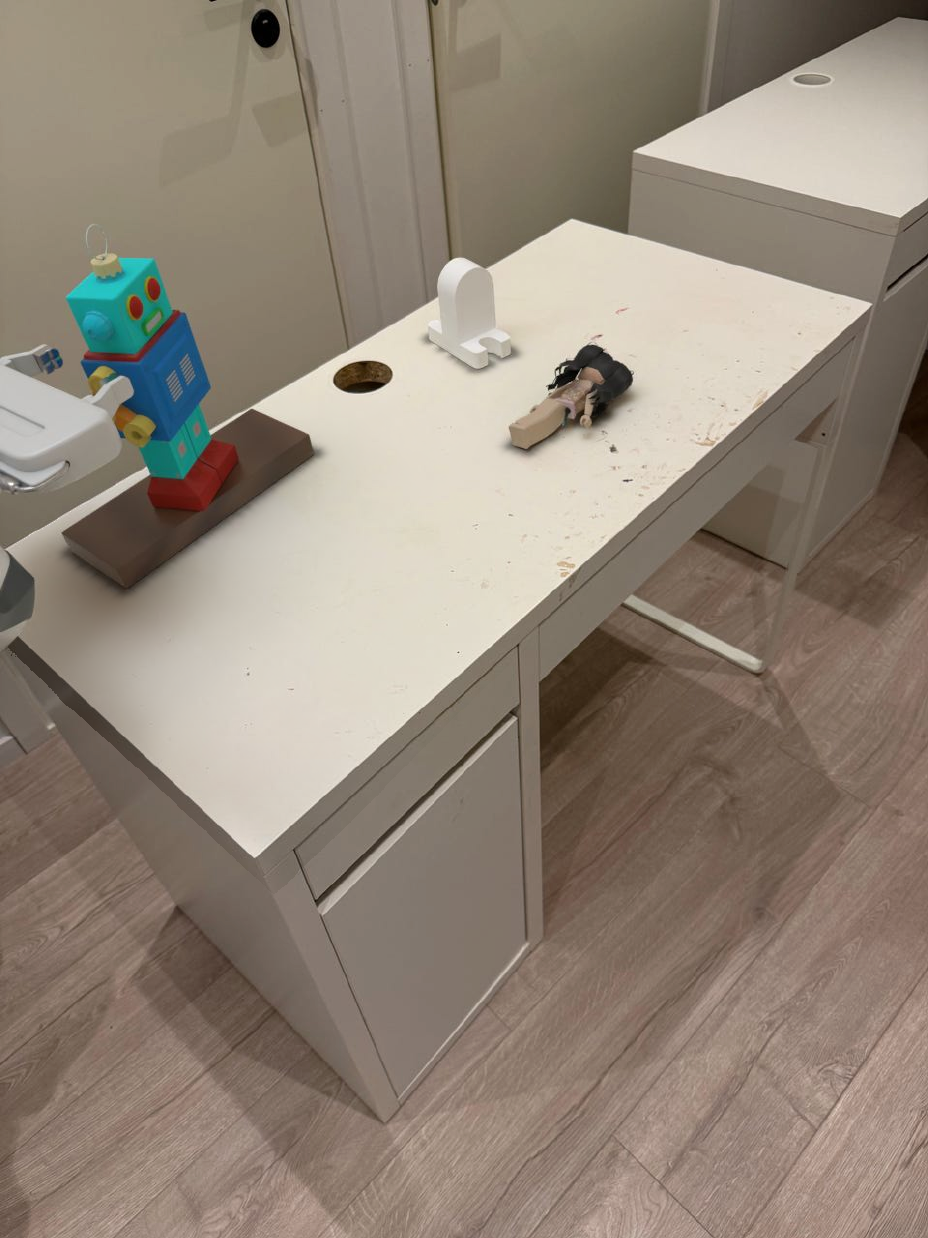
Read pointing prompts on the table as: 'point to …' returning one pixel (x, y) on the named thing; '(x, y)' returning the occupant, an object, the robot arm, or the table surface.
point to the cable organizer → (467, 314)
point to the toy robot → (151, 378)
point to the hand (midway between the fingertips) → (89, 367)
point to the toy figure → (574, 395)
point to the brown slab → (148, 536)
